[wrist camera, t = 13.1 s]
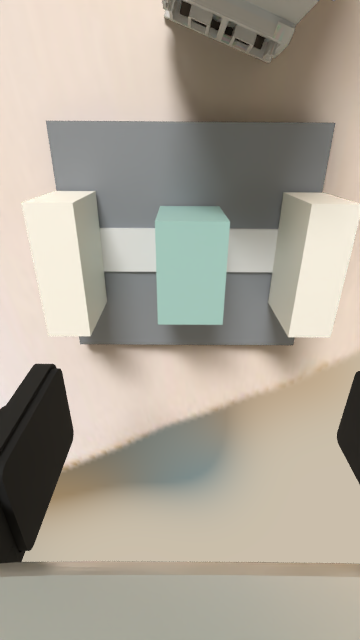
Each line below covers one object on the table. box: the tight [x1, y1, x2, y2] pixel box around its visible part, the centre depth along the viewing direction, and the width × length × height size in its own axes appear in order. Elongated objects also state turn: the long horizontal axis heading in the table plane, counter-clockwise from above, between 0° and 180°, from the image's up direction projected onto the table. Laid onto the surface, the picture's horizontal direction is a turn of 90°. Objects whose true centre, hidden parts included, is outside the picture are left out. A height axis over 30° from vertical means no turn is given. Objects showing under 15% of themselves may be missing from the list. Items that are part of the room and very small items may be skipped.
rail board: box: [21, 121, 360, 345], centre depth 25 cm, size 20×18×8 cm
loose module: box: [155, 206, 230, 325], centre depth 24 cm, size 4×7×6 cm, turn 0°
